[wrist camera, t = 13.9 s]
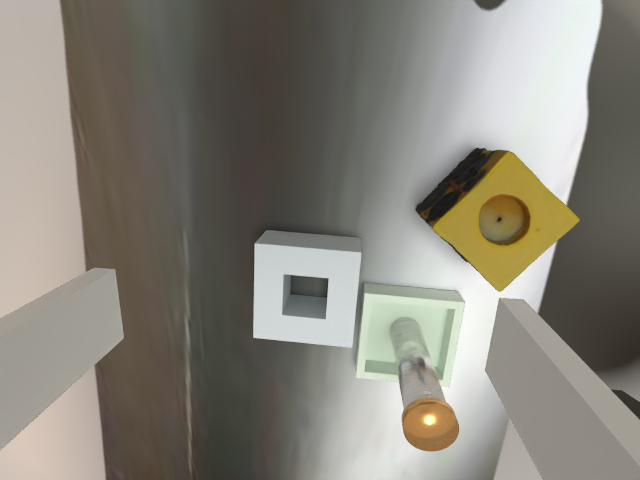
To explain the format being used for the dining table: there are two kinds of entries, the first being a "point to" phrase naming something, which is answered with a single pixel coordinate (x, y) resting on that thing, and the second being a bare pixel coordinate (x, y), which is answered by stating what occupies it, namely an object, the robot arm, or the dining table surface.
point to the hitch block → (298, 310)
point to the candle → (496, 214)
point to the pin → (421, 390)
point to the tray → (418, 303)
